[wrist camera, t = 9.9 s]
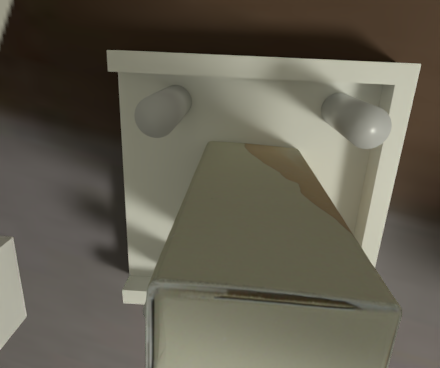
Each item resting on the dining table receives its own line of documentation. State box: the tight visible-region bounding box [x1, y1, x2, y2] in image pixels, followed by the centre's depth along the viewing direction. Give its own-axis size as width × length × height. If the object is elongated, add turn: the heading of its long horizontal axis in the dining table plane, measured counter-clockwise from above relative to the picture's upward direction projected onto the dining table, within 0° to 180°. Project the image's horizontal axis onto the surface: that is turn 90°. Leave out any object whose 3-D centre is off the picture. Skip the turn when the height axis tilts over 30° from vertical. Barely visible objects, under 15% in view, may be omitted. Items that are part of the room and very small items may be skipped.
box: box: [145, 141, 402, 368], centre depth 12 cm, size 5×4×11 cm
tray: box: [107, 50, 421, 318], centre depth 15 cm, size 12×12×5 cm
